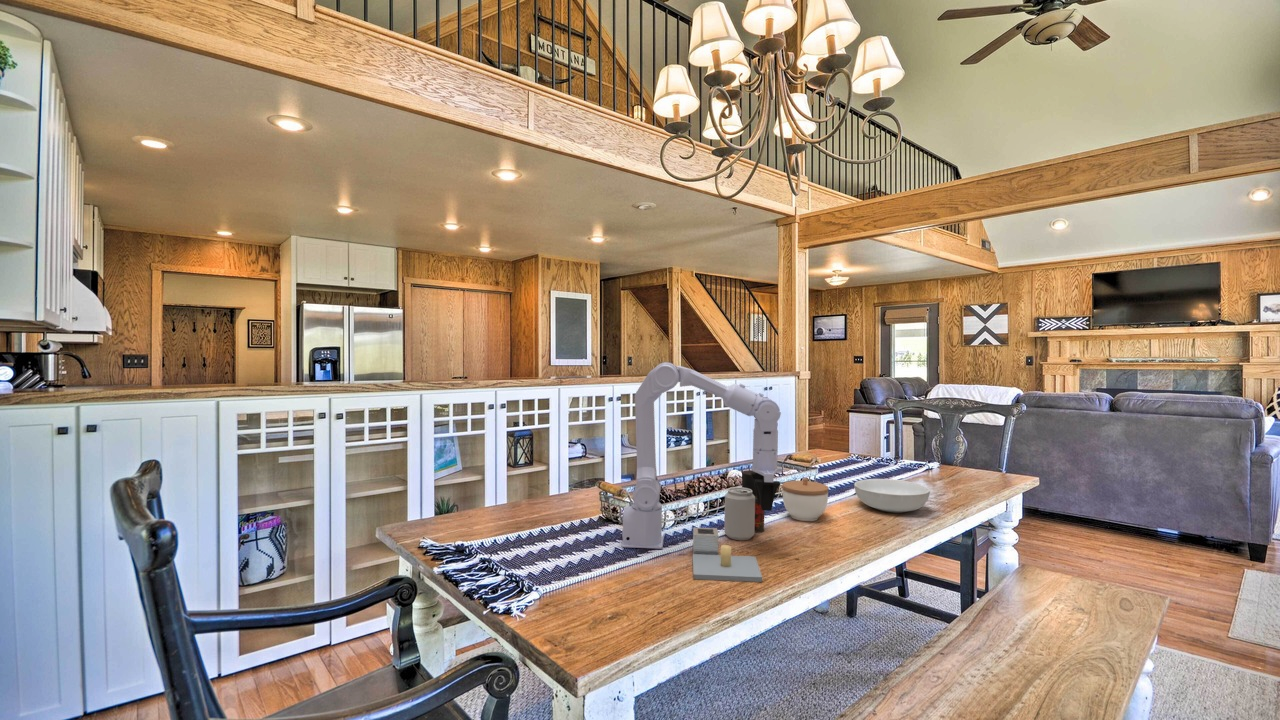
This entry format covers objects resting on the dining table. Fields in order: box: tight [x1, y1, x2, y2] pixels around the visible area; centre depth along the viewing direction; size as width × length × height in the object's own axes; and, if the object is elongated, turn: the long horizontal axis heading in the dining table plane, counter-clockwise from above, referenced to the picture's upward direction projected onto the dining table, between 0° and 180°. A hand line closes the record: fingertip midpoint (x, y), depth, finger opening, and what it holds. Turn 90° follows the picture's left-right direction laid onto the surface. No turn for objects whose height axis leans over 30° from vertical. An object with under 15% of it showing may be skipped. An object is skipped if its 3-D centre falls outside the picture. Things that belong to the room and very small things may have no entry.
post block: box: [692, 544, 763, 583], centre depth 128 cm, size 14×12×5 cm
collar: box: [692, 526, 719, 555], centre depth 139 cm, size 6×6×5 cm
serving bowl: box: [853, 478, 931, 514], centre depth 179 cm, size 21×21×7 cm
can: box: [723, 486, 755, 541], centre depth 151 cm, size 8×8×12 cm
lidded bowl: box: [781, 477, 830, 522], centre depth 168 cm, size 13×13×11 cm
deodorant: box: [741, 469, 765, 534], centre depth 157 cm, size 6×6×15 cm
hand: (764, 505), depth 142 cm, fingers open, 7 cm apart
